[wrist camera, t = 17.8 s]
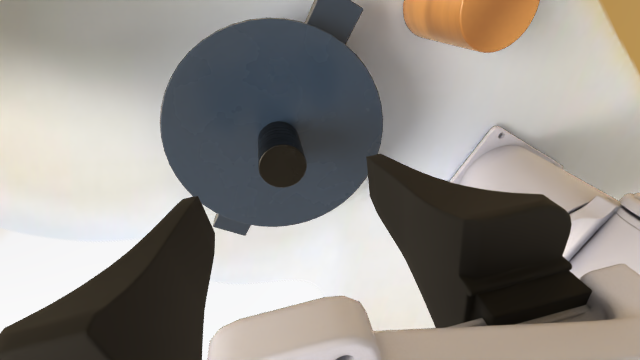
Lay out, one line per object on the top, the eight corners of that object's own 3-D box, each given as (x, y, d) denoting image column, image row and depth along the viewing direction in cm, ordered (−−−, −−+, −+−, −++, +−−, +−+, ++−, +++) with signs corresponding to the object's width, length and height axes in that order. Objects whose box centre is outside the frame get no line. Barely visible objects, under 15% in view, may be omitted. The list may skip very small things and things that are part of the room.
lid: (415, 85, 19) (455, 107, 15) (318, 237, 24) (330, 282, 20) (209, -39, 15) (193, -51, 11) (138, 181, 19) (110, 227, 15)
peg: (474, -11, 20) (558, -14, 14) (435, 49, 22) (499, 67, 16) (428, -49, 19) (502, -69, 13) (390, 18, 20) (443, 26, 14)
